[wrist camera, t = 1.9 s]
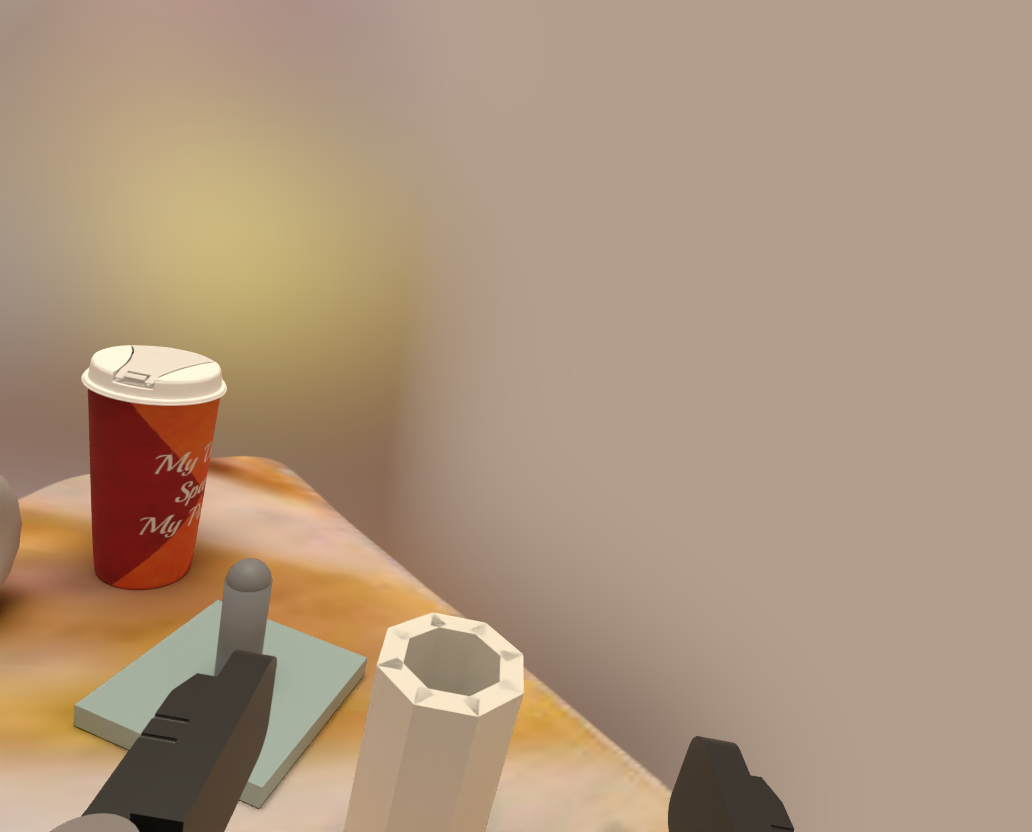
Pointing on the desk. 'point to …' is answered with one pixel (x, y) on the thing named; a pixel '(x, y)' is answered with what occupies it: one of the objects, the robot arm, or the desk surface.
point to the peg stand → (205, 649)
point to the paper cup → (148, 459)
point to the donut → (8, 529)
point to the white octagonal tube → (436, 728)
